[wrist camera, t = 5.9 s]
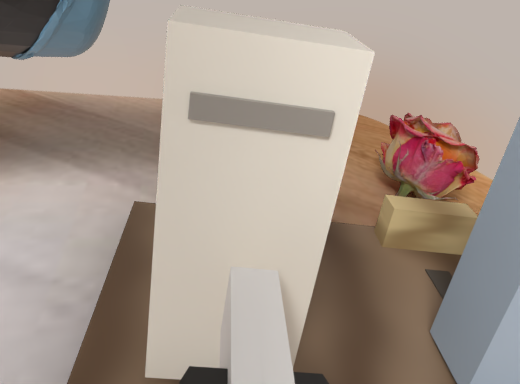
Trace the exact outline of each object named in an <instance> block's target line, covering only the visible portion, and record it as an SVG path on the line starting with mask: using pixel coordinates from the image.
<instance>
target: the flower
mask: <svg viewBox="0 0 520 384" xmlns="http://www.w3.org/2000/svg"><path fill="white" fill-rule="evenodd" d="M389 129H390V135H391V137H392V139H393V141H392V142H391V144H387V143H383V142H382V143H381V149H382V151H383V154H382V155H383V156H384V160H383V161H382V159H381V157H380V155H379V154H378V156H379V160H380V164H381V167H382V170H383V172H384V173H385V174H386V175H387V176H388V177H390V178H391V179H392V180H396V181H399V182H400V184H401V186H400V189H399V191H398V192H397V194H396V195H395V196H402V197H406V195H407V194H408V193H409V192H410V193H411V194H412V192H414V193H415V195H416V197H417V198H419V199H428V200H437V199H456V200H458V199H457V198H451V197H448V198H441V197H443V196H445V195H446V194H448V193H449V192H451V191H452V190H454V189H458V190H461V189H462V188H463V187H464V186H465V185H466V184H470V183H474V180H476V178H475V177H474V176H469V173H471V172H473V171H474V170H476V169H477V168H478V166H477V164H478V161H479V156H478V155H477V154H478V153H477V151H476V149H477V148H476V147H474V146H472V147H471V146H468V145H466V144H464V143H461V138H460V135H459V132H458V131H456V130H457V129H456V128H455V127H454V126H453V125H452V124H451V123H432V122H431V120H430V119H428V118H423V117H422V115H420V116H416V117H413V116H412V115H411V114H410V113H408V114H406V115H405V117H404V121H403V120H402V119H401V118H398V117H397V116H394V115H391V117H390V126H389ZM455 132H457V133H455ZM375 151H376V150H375ZM376 152H377V151H376ZM377 153H378V152H377ZM412 195H413V194H412Z"/></svg>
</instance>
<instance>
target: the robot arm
mask: <svg viewBox="0 0 520 384" xmlns="http://www.w3.org/2000/svg"><path fill="white" fill-rule="evenodd" d="M109 2H110V0H0V56H2V57H12V58H13V59H19V60H24V59H27V58H31V57H33V56H41V57H72V56H77V55H79V54H82V53H83V52H85V51H86V50H88V49H89V48H90V47H91V46H92V45H93V43H94V42H95V41H96V39H97V38H98V36H99V34H100V32H101V29H102V27H103V24H104V21H105V18H106V14H107V11H108V7H109ZM179 384H329V383H328V381H327V380H326V378H325V377H324V375H323V374H319V373H303V372H293V367H292V361H291V354H290V347H289V341H288V334H287V327H286V321H285V314H284V307H283V301H282V294H281V288H280V281H279V274H278V271H275V270H265V269H254V268H243V267H232V266H231V268H230V274H229V280H228V287H227V293H226V300H225V306H224V313H223V319H222V325H221V332H220V368H210V367H195V366H189V367H188V369H187V371H186V372H185V374H184V375H183V377H182V379H181V380H180V382H179Z"/></svg>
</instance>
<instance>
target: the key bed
mask: <svg viewBox="0 0 520 384" xmlns="http://www.w3.org/2000/svg"><path fill="white" fill-rule="evenodd" d="M155 211H156V204H155V203H146V202H136V201H134V204H133V207H132V210H131V212H130V215H129V218H128V220H127V223H126V226H125V228H124V231H123V234H122V237H121V239H120V242H119V245H118V247H117V250H116V253H115V255H114V258H113V261H112V264H111V266H110V269H109V272H108V274H107V277H106V280H105V283H104V285H103V288H102V291H101V293H100V296H99V299H98V301H97V304H96V307H95V310H94V312H93V315H92V318H91V320H90V323H89V326H88V329H87V331H86V334H85V337H84V339H83V342H82V345H81V347H80V350H79V353H78V356H77V358H76V361H75V364H74V366H73V369H72V372H71V374H70V377H69V380H68V383H67V384H179V382H180V380H179V379H162V378H146V377H145V368H146V352H147V337H148V321H149V305H150V290H151V274H152V258H153V243H154V227H155ZM477 218H478V216H477V215H476V214H475V213H474V211H473V210H472V209H471V208H470V207H469V206H468V205H467V204H463V203H454V202H446V201H437V200H428V199H419V198H411V197H402V196H393V195H385V197H384V201H383V204H382V207H381V210H380V214H379V217H378V220H377V223H376V226H375V227H374V226H364V225H355V224H345V223H336V222H331V223H330V227H329V231H328V235H327V239H326V243H325V247H324V250H323V254H322V258H321V262H320V266H319V270H318V274H317V277H316V281H315V285H314V289H313V293H312V297H311V301H310V304H309V308H308V312H307V316H306V320H305V324H304V328H303V331H302V335H301V339H300V343H299V347H298V351H297V355H296V359H295V362H294V366H293V372H303V373H319V374H323V375H324V377H325V378H326V380H327V381H328V383H329V384H457V383H456V381H455V379H454V377H453V375H452V373H451V371H450V369H449V367H448V365H447V364H446V362H445V360H444V358H443V356H442V354H441V352H440V350H439V348H438V346H437V345H436V343H435V341H434V339H433V337H432V335H431V333H430V330H431V327H432V325H433V323H434V320H435V318H436V315H437V313H438V311H439V308H440V306H441V304H442V301H443V299H444V296H445V294H446V292H447V289H448V287H449V284H450V282H451V280H452V277H453V275H454V273H455V270H456V268H457V265H458V263H459V261H460V258H461V256H462V253H463V251H464V249H465V246H466V244H467V242H468V239H469V237H470V234H471V232H472V230H473V227H474V225H475V222H476V220H477Z"/></svg>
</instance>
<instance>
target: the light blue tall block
mask: <svg viewBox="0 0 520 384" xmlns="http://www.w3.org/2000/svg"><path fill="white" fill-rule="evenodd" d="M430 333H431V335H432V337H433V339H434V341H435V343H436V345H437V346H438V348H439V350H440V352H441V354H442V356H443V358H444V360H445V362H446V364H447V365H448V367H449V369H450V371H451V373H452V375H453V377H454V379H455V381H456V383H457V384H520V118H519V120H518V122H517V125H516V127H515V130H514V132H513V134H512V137H511V139H510V141H509V144H508V146H507V149H506V151H505V154H504V156H503V158H502V161H501V163H500V166H499V168H498V170H497V172H496V175H495V177H494V180H493V182H492V184H491V187H490V189H489V192H488V194H487V196H486V199H485V201H484V203H483V206H482V208H481V211H480V213H479V215H478V218H477V220H476V222H475V225H474V227H473V230H472V232H471V234H470V237H469V239H468V242H467V244H466V246H465V249H464V251H463V253H462V256H461V258H460V261H459V263H458V265H457V268H456V270H455V273H454V275H453V277H452V280H451V282H450V284H449V287H448V289H447V292H446V294H445V296H444V299H443V301H442V304H441V306H440V308H439V311H438V313H437V315H436V318H435V320H434V323H433V325H432V327H431V330H430Z"/></svg>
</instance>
